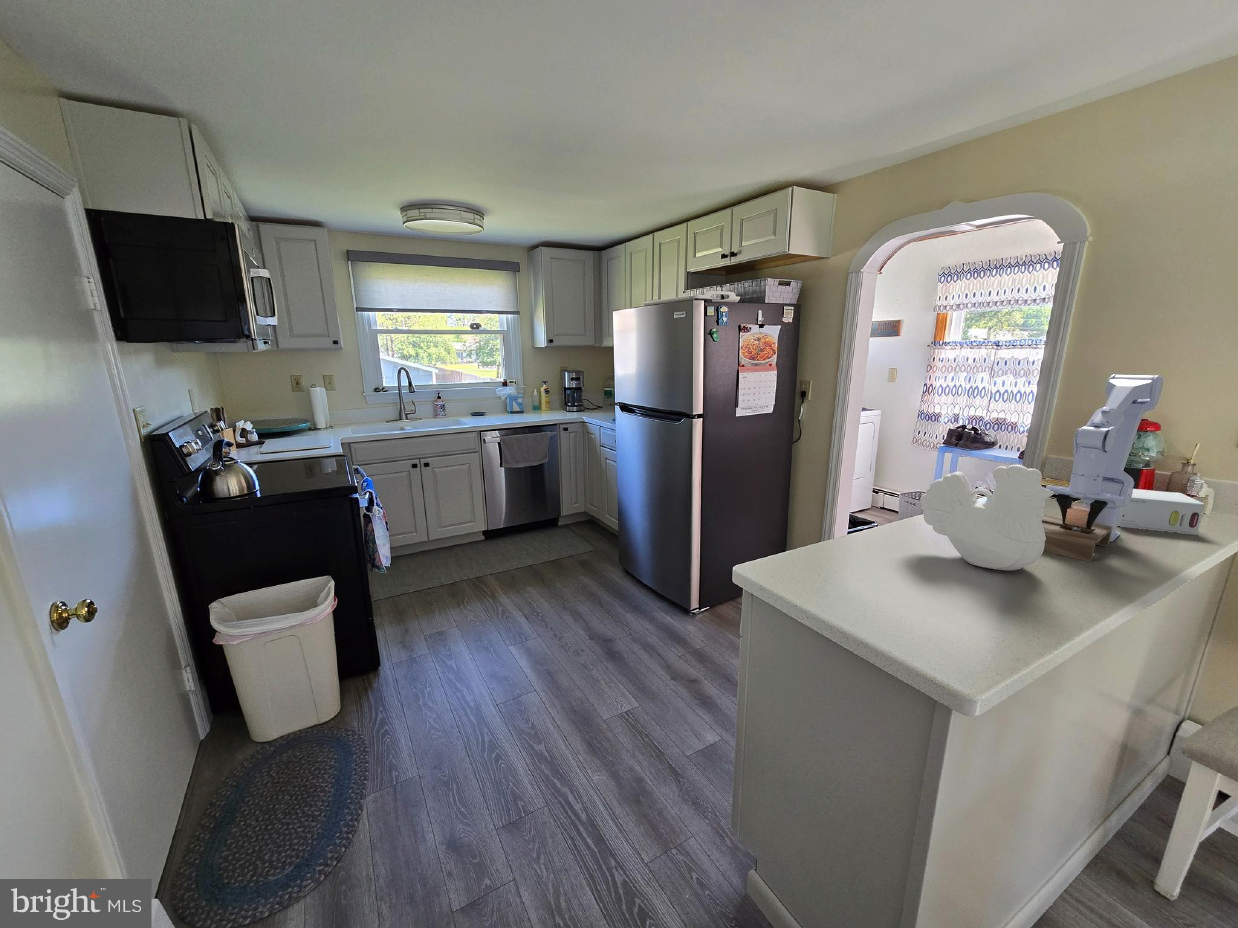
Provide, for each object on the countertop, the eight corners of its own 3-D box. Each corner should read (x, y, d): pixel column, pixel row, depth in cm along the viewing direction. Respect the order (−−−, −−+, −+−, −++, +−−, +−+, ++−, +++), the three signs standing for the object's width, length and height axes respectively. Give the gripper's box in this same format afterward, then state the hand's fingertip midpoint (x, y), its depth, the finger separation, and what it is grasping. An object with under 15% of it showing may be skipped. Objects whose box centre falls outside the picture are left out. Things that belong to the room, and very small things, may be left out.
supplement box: (1116, 527, 144) (1122, 496, 142) (1098, 514, 155) (1104, 485, 153) (1198, 536, 136) (1206, 503, 134) (1173, 521, 148) (1180, 491, 146)
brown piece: (1065, 534, 132) (1071, 505, 130) (1088, 539, 128) (1094, 509, 126) (1060, 537, 129) (1066, 508, 127) (1083, 542, 126) (1089, 512, 124)
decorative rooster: (1052, 570, 115) (1072, 465, 110) (1018, 585, 108) (1038, 474, 102) (940, 537, 136) (952, 448, 131) (905, 548, 129) (916, 454, 124)
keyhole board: (1032, 528, 143) (1035, 511, 142) (1108, 544, 130) (1112, 526, 129) (1009, 542, 133) (1012, 524, 132) (1089, 561, 120) (1093, 541, 119)
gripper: (1045, 471, 129) (1036, 521, 131) (1123, 482, 117) (1111, 537, 120) (1053, 467, 133) (1045, 516, 135) (1130, 478, 121) (1118, 531, 124)
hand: (1076, 525), depth 128 cm, fingers closed on brown piece, 4 cm apart
